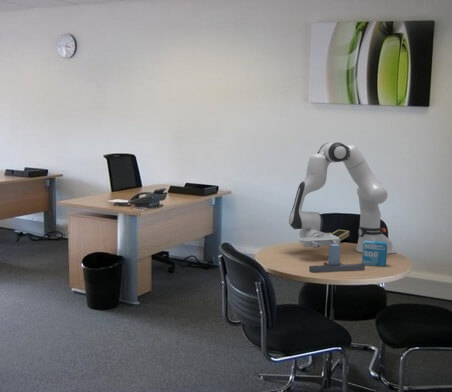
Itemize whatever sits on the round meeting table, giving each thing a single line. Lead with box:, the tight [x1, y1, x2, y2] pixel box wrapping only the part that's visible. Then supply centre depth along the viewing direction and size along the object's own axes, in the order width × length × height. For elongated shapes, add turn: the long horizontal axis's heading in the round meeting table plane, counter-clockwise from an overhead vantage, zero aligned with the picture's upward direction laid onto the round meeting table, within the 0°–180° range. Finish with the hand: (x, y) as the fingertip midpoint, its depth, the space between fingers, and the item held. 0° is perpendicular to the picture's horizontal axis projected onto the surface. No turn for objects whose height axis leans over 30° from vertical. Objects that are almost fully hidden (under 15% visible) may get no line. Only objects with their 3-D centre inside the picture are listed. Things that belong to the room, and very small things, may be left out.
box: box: [331, 229, 351, 242], centre depth 327 cm, size 8×22×5 cm, turn 138°
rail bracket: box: [308, 261, 366, 273], centre depth 264 cm, size 28×8×2 cm, turn 103°
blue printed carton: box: [361, 240, 388, 267], centre depth 274 cm, size 12×4×12 cm, turn 75°
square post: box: [327, 244, 341, 265], centre depth 265 cm, size 4×4×12 cm
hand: (326, 244), depth 275 cm, fingers open, 8 cm apart
